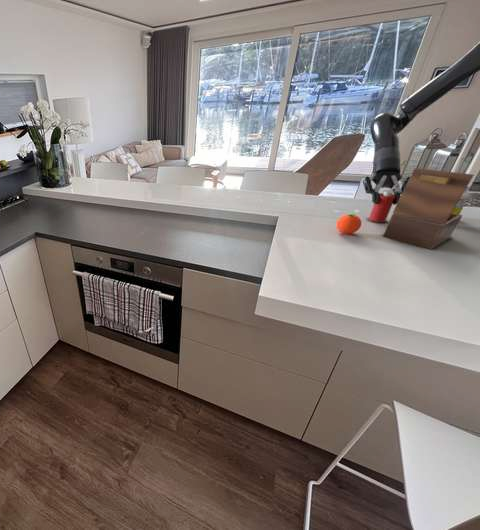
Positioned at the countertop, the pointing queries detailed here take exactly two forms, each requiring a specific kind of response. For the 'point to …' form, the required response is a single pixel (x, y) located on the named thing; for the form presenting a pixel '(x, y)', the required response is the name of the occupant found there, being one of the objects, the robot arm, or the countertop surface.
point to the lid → (432, 195)
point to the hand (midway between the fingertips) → (386, 203)
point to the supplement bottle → (461, 201)
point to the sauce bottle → (382, 207)
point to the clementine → (348, 223)
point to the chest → (421, 230)
